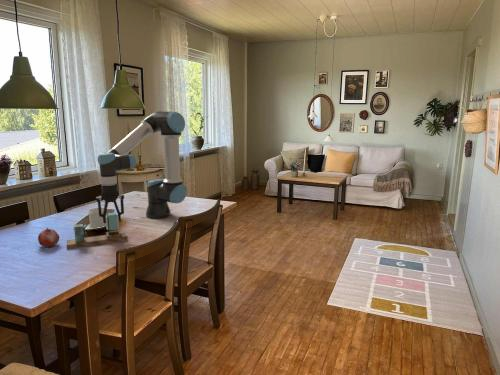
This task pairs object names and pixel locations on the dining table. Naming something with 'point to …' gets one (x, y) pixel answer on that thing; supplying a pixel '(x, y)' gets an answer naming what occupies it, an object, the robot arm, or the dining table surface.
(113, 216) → the teal rectangular block
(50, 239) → the fruit
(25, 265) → the dining table surface
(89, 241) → the rail
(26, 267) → the dining table surface
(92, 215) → the grey rounded block
